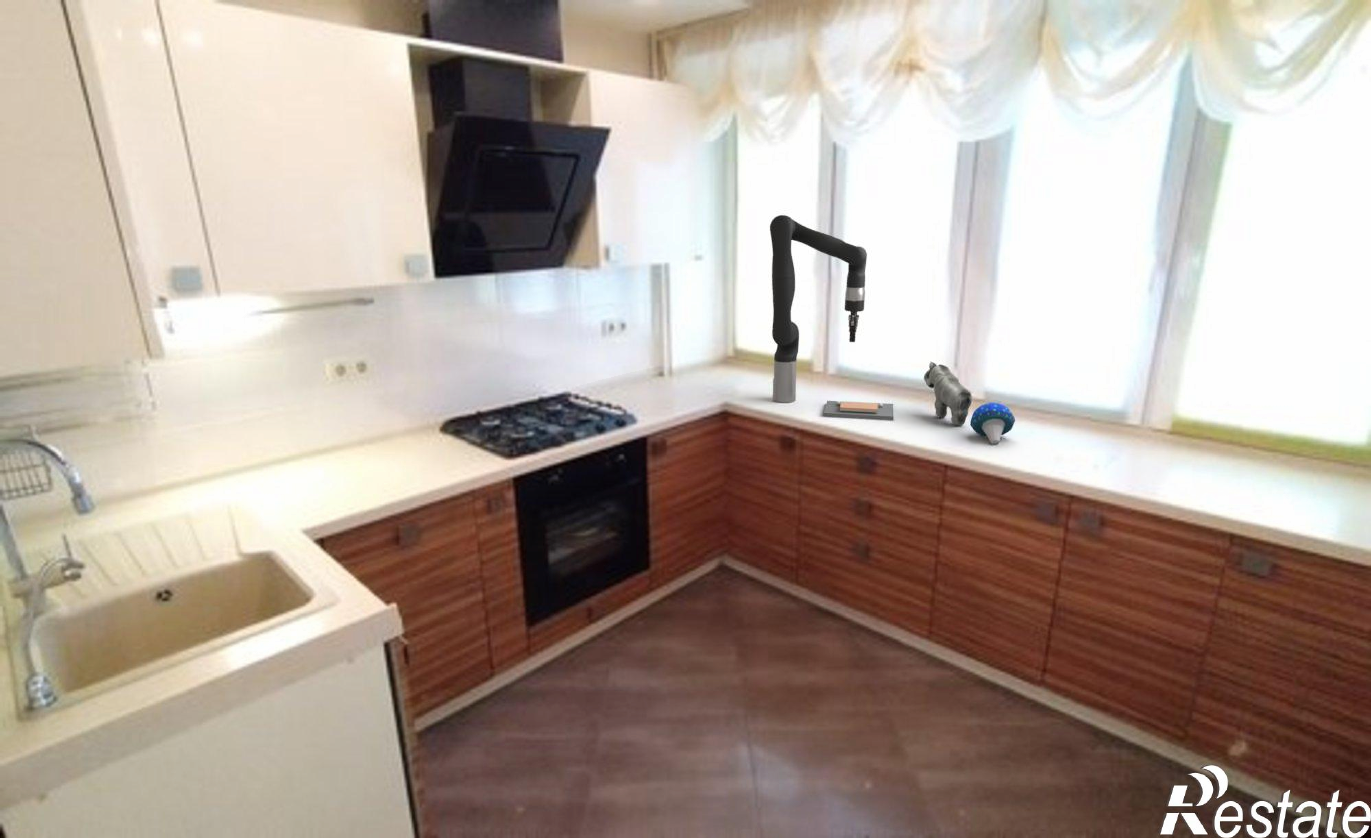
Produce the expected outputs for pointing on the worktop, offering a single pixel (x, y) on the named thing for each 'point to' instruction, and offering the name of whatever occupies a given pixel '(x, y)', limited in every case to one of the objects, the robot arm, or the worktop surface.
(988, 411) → the mushroom
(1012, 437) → the worktop surface
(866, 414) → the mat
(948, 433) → the worktop surface
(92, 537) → the worktop surface
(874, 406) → the tile
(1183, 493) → the worktop surface
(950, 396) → the grey animal figure
